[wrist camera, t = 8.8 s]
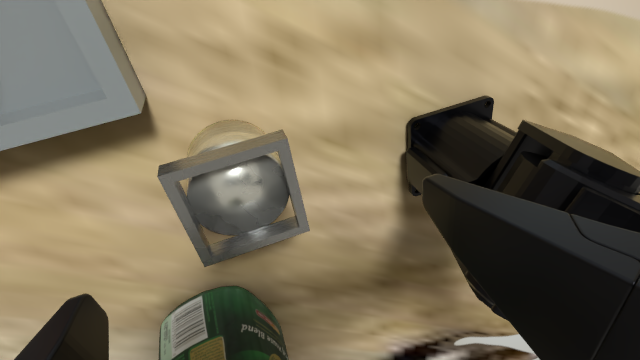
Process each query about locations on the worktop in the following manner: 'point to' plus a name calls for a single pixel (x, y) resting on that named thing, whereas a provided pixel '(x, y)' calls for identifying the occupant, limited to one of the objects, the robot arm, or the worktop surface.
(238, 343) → the coffee jar
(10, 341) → the worktop surface
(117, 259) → the worktop surface
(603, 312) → the robot arm
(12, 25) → the tray
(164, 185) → the hollow square frame
